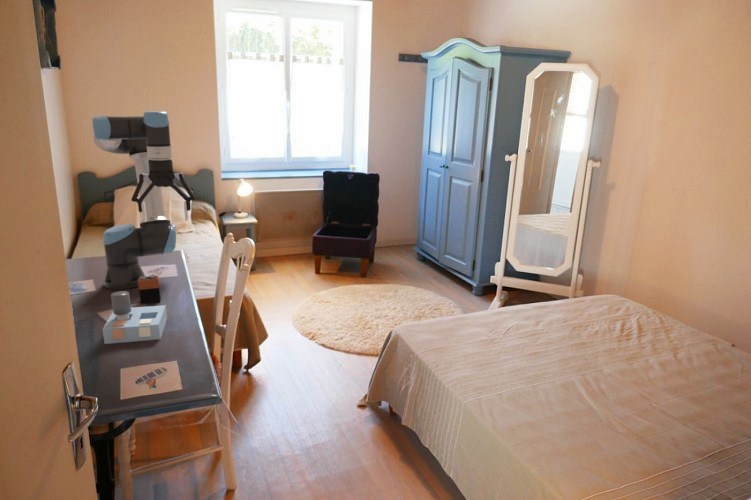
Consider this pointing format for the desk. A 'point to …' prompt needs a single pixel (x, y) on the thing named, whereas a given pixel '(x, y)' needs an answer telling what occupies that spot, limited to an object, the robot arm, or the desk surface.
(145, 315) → the socket board
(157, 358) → the desk surface
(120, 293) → the grey piece
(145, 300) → the battery
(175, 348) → the desk surface
